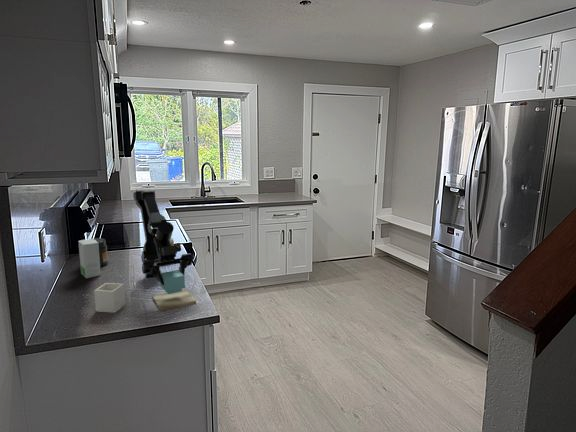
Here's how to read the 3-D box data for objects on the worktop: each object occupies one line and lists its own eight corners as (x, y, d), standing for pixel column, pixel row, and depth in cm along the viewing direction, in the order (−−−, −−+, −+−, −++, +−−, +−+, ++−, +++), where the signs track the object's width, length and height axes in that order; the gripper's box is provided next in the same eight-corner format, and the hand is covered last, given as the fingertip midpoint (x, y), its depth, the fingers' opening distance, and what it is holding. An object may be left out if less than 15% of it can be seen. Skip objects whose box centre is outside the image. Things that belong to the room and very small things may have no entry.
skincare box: (81, 273, 175) (77, 240, 172) (96, 270, 179) (93, 237, 176) (86, 278, 169) (82, 244, 166) (102, 275, 173) (98, 241, 170)
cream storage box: (107, 302, 145) (105, 282, 144) (125, 303, 145) (124, 283, 143) (96, 311, 138) (94, 290, 137) (115, 312, 138) (113, 291, 136)
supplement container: (112, 261, 192) (110, 237, 190) (102, 268, 182) (99, 243, 180) (91, 260, 193) (88, 237, 190) (80, 268, 182) (77, 243, 180)
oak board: (152, 298, 150) (152, 295, 149) (185, 291, 156) (185, 289, 156) (161, 311, 139) (160, 308, 139) (196, 303, 145) (196, 300, 145)
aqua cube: (160, 289, 148) (159, 273, 147) (179, 285, 152) (178, 269, 151) (166, 295, 142) (164, 279, 141) (185, 291, 146) (184, 275, 145)
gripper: (141, 240, 142) (150, 277, 135) (190, 233, 151) (201, 268, 144) (138, 255, 150) (146, 291, 143) (185, 247, 159) (195, 281, 153)
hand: (173, 282), depth 145 cm, fingers closed on aqua cube, 7 cm apart
